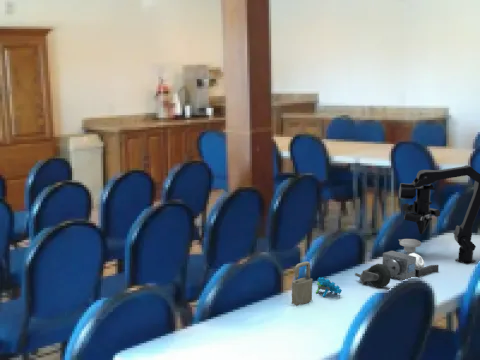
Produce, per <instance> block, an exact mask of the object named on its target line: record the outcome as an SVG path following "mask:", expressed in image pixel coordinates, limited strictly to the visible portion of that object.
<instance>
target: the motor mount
mask: <svg viewBox="0 0 480 360" xmlns="http://www.w3.org/2000/svg"><path fill="white" fill-rule="evenodd" d="M382 264H383V265H385V266H386V267H387V268H388V269H389V271H390V273H391V278H394V279H397V280H400V281H403V280H405V279H408V278H411V277H415V278H421V277H424V276H427V275H429V274H433V273H439V264H430V265H427V266H424V267H423V268H420V269H416V257H414V256H410V255H407V253H402V252H398V251H395V250H389V251H385V252H382Z"/></svg>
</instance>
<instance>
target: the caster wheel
mask: <svg viewBox="0 0 480 360" xmlns="http://www.w3.org/2000/svg"><path fill="white" fill-rule="evenodd" d="M354 276H355V277H359V281H361V285H364V286H365V285H366V284H369V283H370V284H371V285H372V286H374V287H375V288H378V289H381V288H385V287H386V286H388V285H389V284H390V281H391V279H392V277H391V273H390V271H389V269H388V268H387V267H386V266H385V265H383V263H376V264H373V265H371V266H370V267H368V268H367V269H365V270H362V273H359V272H358V273H357V272H355V273H354Z"/></svg>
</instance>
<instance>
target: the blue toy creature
mask: <svg viewBox="0 0 480 360" xmlns="http://www.w3.org/2000/svg"><path fill="white" fill-rule="evenodd" d="M316 285H317V290H316V291H315V294H318V293H319V292H320V290H323V291H324V292H323V294H322V295H321V297H323V298H325V297H326V296H327V294H328V292H330V291H331V293H334V294H335V293H337V294H339V295H340V294H341V293H342V291H343V290H342V288H341V287H340V286H339V285H336V283H335V282H333V281H331V279H329V278H325V277H321V276H319V277H318V279H317V283H316Z"/></svg>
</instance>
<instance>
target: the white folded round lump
mask: <svg viewBox="0 0 480 360" xmlns="http://www.w3.org/2000/svg"><path fill="white" fill-rule="evenodd" d="M409 255H410V256H414V257H416V269H420V268H423V267H425V260H424V259H423V257H422V256H421V255H419V254H418V253H415V252H412V253H411V254H409Z"/></svg>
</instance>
